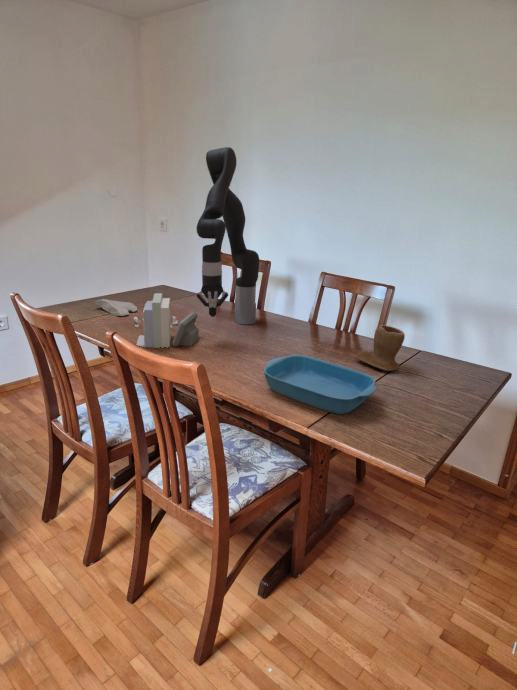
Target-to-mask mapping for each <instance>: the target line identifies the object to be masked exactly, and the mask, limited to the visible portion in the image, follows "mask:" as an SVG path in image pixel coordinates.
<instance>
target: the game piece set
mask: <svg viewBox="0 0 517 690" xmlns="http://www.w3.org/2000/svg"><path fill="white" fill-rule="evenodd" d="M141 320H142V321H143V317H142V319H141ZM141 320H140V319H139V318H138V317H137V316H134V317H133V321H135V325H134V327H135V328H140V325H139V324H140V323H141ZM177 324H178V325H179V320H177V317H176V316H172V324H171V330H172V329H173V326H172V325H174V326H177ZM143 331H144V328H143Z"/></svg>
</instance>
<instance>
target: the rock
mask: <svg viewBox="0 0 517 690" xmlns="http://www.w3.org/2000/svg"><path fill="white" fill-rule="evenodd" d="M94 304H95V305H97V306H98V307H100V308H102V309H103V310H104V311H106V312H108V313H109V314H110V315H112V316H115V317H124V316H130V312H132V313H135V312H137V311H138V307H137V306H136V305H135V304H134V303H132V302H128V301H127V302H126V301H119V300H110V299H105V298H102V299H97V300H95V301H94Z"/></svg>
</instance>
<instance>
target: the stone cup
mask: <svg viewBox="0 0 517 690" xmlns="http://www.w3.org/2000/svg"><path fill="white" fill-rule="evenodd" d="M405 337H406V336H405V332H403V330H401V329H399V328H396V327H394V326H390V325H385V324H380V325H379V326H377V328H376V329H375V332H374V336H373V351H363V350H362V351H360V352H358V353H356V354H355V355H354V358H355V360H358V361H360V362H362V363H364V364H366V365H369V366H371V367H374V368H377V369H379V370H383V371H385V372H393V371H396V370H398V369H399V368H400V364H399V363H398V362H396V357H397V355H398V352H399V351H400V349H401V347H402V346H403V343H404V341H405Z"/></svg>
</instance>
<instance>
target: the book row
mask: <svg viewBox="0 0 517 690" xmlns="http://www.w3.org/2000/svg"><path fill="white" fill-rule="evenodd" d="M142 318H143V320H142V321H143V323H142V324H143V325H142V326H143V329H144V330H143V334H140V335H139V336H138V338H137V342H136V344H135V346H136V345H138V346H140V347H139V348H147V347H148V348H154V349H161V348H162V349H165V348H164V347H166V349H167V348H168V347H170V348H171V339H172V329H171V325H172V322H171V320H172V319H171V318H172V317H171V298H170V297H166V298H165V297H163V293H161V292H160V293H158V292H157V293H154V294H153V298H152V300H147V301H146V303H144V307H143V311H142ZM160 347H161V348H160ZM168 349H169V348H168Z"/></svg>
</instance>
